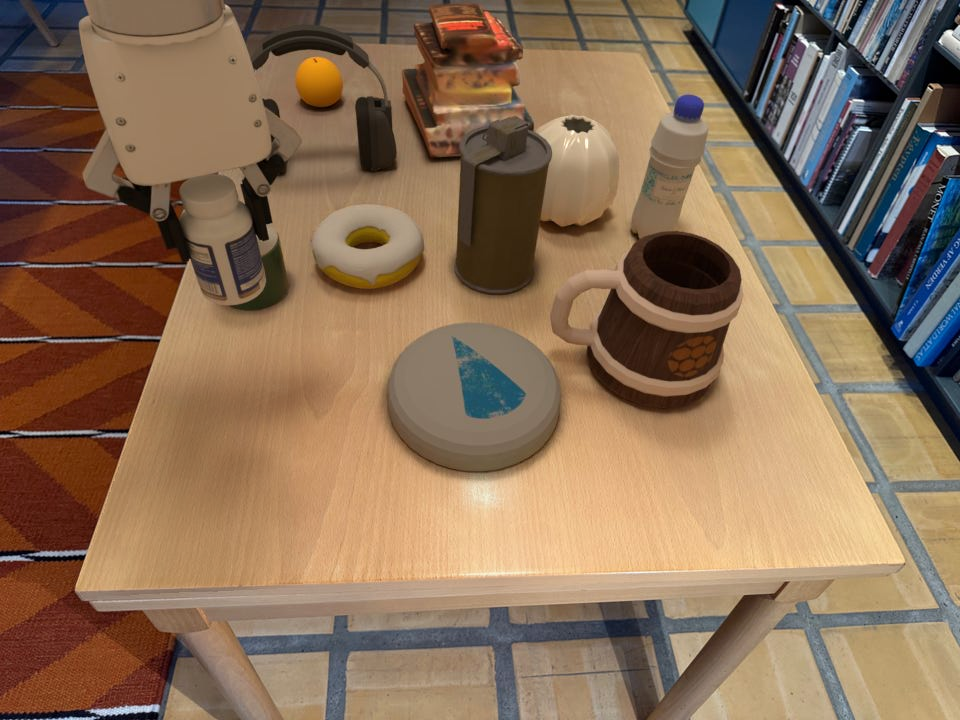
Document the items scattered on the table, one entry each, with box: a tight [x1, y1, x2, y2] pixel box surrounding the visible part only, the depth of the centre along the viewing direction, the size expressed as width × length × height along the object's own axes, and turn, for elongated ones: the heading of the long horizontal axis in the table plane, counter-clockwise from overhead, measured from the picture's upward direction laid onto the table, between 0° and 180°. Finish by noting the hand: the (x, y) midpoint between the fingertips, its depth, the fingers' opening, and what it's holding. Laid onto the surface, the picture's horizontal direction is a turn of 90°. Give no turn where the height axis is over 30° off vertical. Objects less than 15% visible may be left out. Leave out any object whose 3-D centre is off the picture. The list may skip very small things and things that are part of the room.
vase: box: [535, 114, 620, 228], centre depth 90 cm, size 14×14×13 cm
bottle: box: [630, 93, 709, 240], centre depth 85 cm, size 7×7×20 cm
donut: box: [311, 203, 425, 290], centre depth 82 cm, size 14×14×5 cm
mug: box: [549, 230, 744, 409], centre depth 69 cm, size 20×15×15 cm
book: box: [401, 2, 535, 159], centre depth 104 cm, size 23×18×17 cm
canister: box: [453, 116, 552, 295], centre depth 77 cm, size 11×10×20 cm
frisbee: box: [386, 321, 562, 472], centre depth 68 cm, size 18×18×5 cm
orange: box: [294, 56, 344, 108], centre depth 110 cm, size 8×8×8 cm
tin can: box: [229, 224, 290, 311], centre depth 77 cm, size 8×8×8 cm
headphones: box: [250, 23, 398, 174], centre depth 92 cm, size 22×6×20 cm, turn 100°
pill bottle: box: [179, 173, 266, 306], centre depth 52 cm, size 5×5×10 cm
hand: (221, 239), depth 52 cm, fingers closed on pill bottle, 5 cm apart
